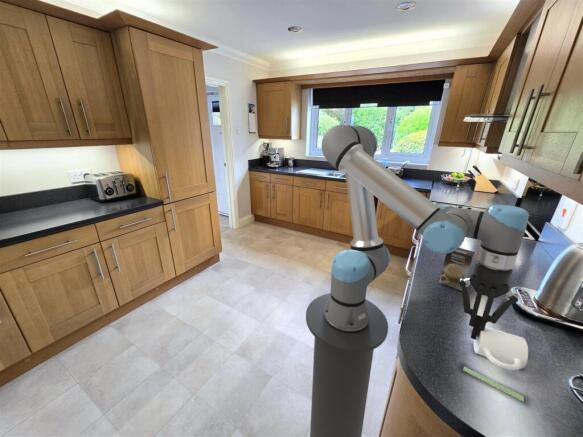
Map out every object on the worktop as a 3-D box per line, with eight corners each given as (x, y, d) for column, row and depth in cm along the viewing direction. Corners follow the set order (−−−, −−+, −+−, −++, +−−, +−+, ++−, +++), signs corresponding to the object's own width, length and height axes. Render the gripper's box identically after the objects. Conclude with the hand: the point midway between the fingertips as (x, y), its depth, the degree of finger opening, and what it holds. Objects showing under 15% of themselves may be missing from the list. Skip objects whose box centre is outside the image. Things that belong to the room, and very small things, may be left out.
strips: (463, 370, 65) (463, 369, 65) (474, 330, 79) (474, 330, 78) (523, 402, 57) (523, 401, 57) (523, 351, 71) (524, 351, 71)
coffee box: (438, 283, 105) (445, 249, 100) (441, 277, 109) (449, 244, 104) (463, 291, 99) (472, 256, 94) (466, 285, 103) (475, 251, 98)
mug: (472, 340, 75) (478, 319, 72) (513, 353, 70) (522, 331, 68) (477, 370, 65) (485, 347, 63) (526, 388, 60) (537, 364, 58)
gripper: (462, 261, 65) (445, 332, 72) (527, 279, 56) (501, 357, 64) (466, 252, 70) (451, 319, 77) (527, 267, 62) (503, 340, 69)
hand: (473, 336), depth 71 cm, fingers closed
